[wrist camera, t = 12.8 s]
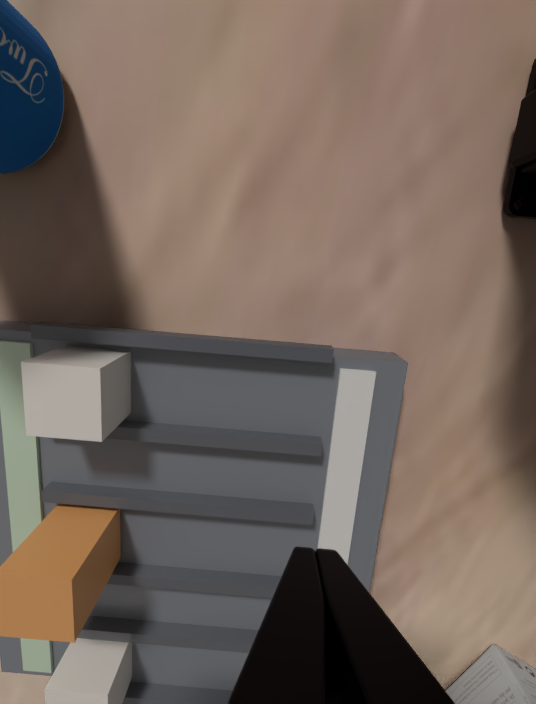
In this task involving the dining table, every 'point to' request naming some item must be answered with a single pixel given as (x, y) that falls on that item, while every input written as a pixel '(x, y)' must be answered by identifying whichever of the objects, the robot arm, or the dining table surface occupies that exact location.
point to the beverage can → (26, 93)
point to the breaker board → (187, 489)
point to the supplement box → (495, 680)
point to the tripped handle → (59, 573)
